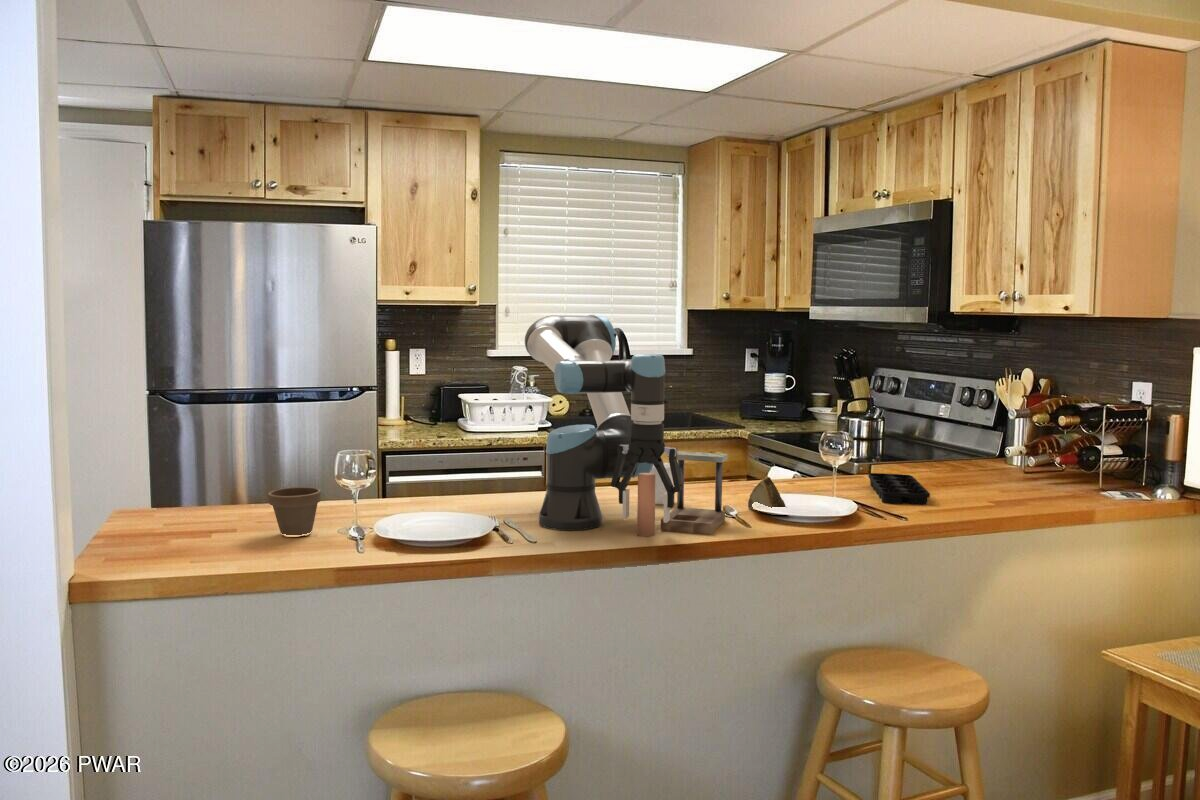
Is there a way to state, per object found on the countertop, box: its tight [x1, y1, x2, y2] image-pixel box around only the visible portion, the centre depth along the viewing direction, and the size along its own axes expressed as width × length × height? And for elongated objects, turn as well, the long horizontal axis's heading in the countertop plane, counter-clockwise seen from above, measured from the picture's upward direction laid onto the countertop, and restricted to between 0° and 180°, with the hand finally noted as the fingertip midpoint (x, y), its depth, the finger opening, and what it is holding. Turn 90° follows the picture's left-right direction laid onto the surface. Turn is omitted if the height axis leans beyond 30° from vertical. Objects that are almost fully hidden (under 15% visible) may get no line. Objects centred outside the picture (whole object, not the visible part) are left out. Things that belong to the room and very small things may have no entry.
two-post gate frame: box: [676, 450, 728, 512], centre depth 243 cm, size 12×5×14 cm, turn 71°
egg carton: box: [867, 472, 931, 506], centre depth 278 cm, size 18×30×4 cm, turn 5°
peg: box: [636, 473, 656, 538], centre depth 228 cm, size 4×4×14 cm
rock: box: [747, 475, 787, 513], centre depth 254 cm, size 11×9×10 cm
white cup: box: [650, 462, 674, 505], centre depth 264 cm, size 8×8×10 cm
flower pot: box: [267, 486, 322, 535], centre depth 225 cm, size 12×11×10 cm
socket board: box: [660, 506, 726, 535], centre depth 238 cm, size 12×15×2 cm
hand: (646, 519), depth 228 cm, fingers open, 9 cm apart
